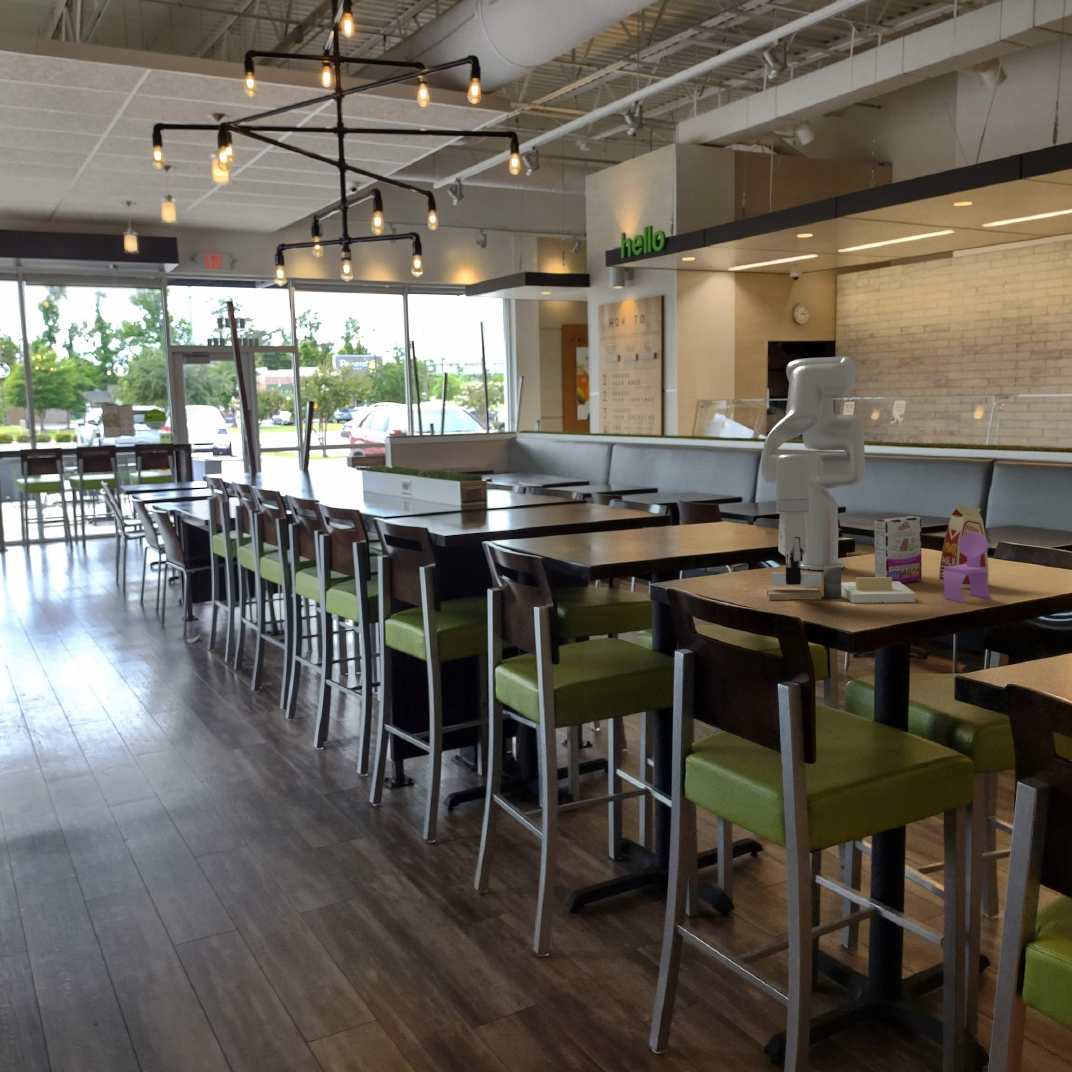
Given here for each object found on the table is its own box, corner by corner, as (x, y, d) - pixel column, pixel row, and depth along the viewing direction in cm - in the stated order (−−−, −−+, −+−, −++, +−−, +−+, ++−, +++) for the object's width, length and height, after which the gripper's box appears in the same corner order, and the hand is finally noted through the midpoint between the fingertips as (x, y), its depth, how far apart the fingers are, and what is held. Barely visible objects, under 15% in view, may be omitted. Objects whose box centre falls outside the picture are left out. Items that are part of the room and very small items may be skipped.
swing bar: (821, 584, 241) (821, 572, 241) (821, 586, 239) (821, 574, 239) (772, 584, 245) (772, 572, 244) (771, 586, 242) (771, 573, 242)
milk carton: (959, 588, 244) (960, 506, 242) (936, 582, 253) (937, 502, 251) (992, 585, 246) (994, 503, 243) (969, 579, 255) (970, 500, 252)
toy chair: (938, 598, 233) (938, 533, 231) (966, 594, 237) (967, 530, 235) (966, 604, 226) (967, 537, 224) (995, 599, 229) (996, 534, 227)
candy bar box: (908, 578, 259) (908, 515, 257) (922, 581, 255) (922, 516, 253) (873, 583, 255) (873, 518, 253) (886, 586, 251) (887, 520, 249)
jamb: (766, 595, 244) (766, 566, 244) (838, 594, 242) (838, 565, 242) (769, 600, 239) (769, 570, 238) (843, 598, 236) (843, 569, 236)
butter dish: (839, 590, 247) (839, 571, 247) (898, 589, 245) (898, 569, 245) (851, 602, 231) (851, 582, 231) (915, 602, 230) (915, 581, 229)
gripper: (771, 504, 245) (772, 579, 246) (782, 509, 230) (782, 589, 232) (803, 504, 244) (803, 579, 246) (815, 508, 229) (815, 588, 231)
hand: (793, 584), depth 239 cm, fingers closed
